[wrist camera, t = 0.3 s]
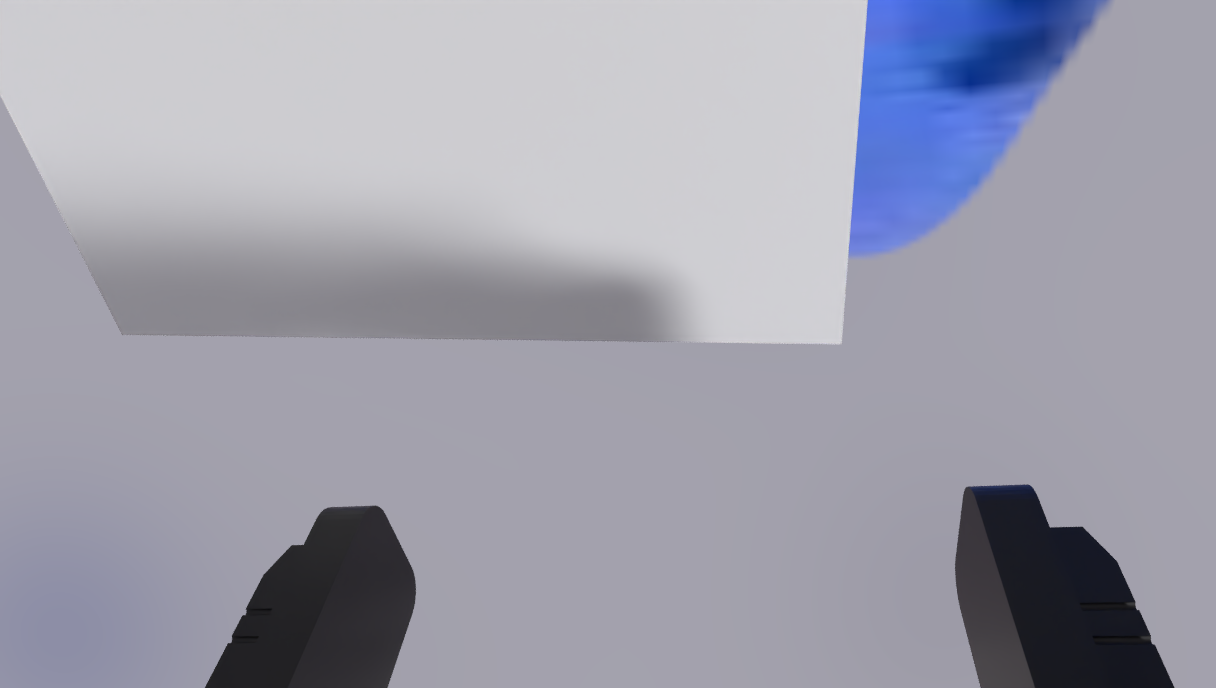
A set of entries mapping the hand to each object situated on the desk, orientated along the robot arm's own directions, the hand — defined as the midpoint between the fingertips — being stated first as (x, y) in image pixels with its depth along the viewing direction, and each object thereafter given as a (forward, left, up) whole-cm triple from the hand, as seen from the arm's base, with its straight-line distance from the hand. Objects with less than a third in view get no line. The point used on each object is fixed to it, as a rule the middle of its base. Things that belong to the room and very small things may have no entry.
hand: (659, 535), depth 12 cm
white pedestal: (-4, -4, -28) cm, 29 cm away
